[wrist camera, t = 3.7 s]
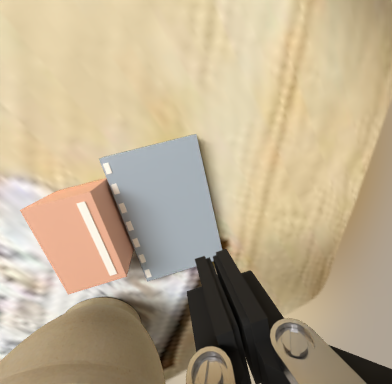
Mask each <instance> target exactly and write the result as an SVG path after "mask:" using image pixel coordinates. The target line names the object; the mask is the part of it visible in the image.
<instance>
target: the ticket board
mask: <svg viewBox="0 0 392 384" xmlns="http://www.w3.org/2000/svg"><path fill="white" fill-rule="evenodd" d="M99 160H100V163H101V165H102V168H103V170H104V173H105V175H106V178H107V180H108V183H109V186H110V188H111V191H112V193H113V196H114V198H115V201H116V203H117V206H118V208H119V211H120V213H121V216H122V219H123V221H124V224H125V226H126V229H127V231H128V234H129V236H130V239H131V241H132V244H133V246H134V249H135V251H136V254H137V257H138V259H139V262H140V264H141V267H142V269H143V272H144V274H145V277H146V279H147V281H151V280H154V279H157V278H160V277H163V276H167V275H170V274H173V273H176V272H179V271H183V270H186V269H189V268H192V267H196V262H195V259H196V258H199V257H202V256H205V257H206V258H209V257H210V259H211V262H212V261H214V260H213V256H215V255H216V252H218V251H221V250H222V247H221V242H220V238H219V233H218V229H217V225H216V220H215V216H214V211H213V207H212V202H211V198H210V193H209V189H208V184H207V180H206V176H205V171H204V167H203V162H202V158H201V153H200V149H199V144H198V140H197V136H196V134H194V135H190V136H186V137H182V138H178V139H174V140H170V141H166V142H162V143H158V144H154V145H150V146H146V147H142V148H138V149H134V150H130V151H126V152H122V153H118V154H114V155H110V156H106V157H102V158H100V159H99Z"/></svg>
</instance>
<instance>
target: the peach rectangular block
mask: <svg viewBox="0 0 392 384" xmlns="http://www.w3.org/2000/svg"><path fill="white" fill-rule="evenodd" d="M20 211H21V213H22V215H23V216H24V218H25V220H26V222H27V223H28V225H29V227H30V229H31V230H32V232H33V234H34V236H35V237H36V239H37V241H38V243H39V244H40V246H41V248H42V249H43V251H44V253H45V255H46V256H47V258H48V260H49V262H50V263H51V265H52V267H53V269H54V270H55V272H56V274H57V276H58V277H59V279H60V281H61V283H62V284H63V286H64V288H65V290H66V291H67V293H68V294H71V293H74V292H78V291H81V290H84V289H88V288H91V287H94V286H97V285H101V284H104V283H107V282H110V281H114V280H117V279H120V278H123V277H127V273H128V269H129V265H130V262H131V258H132V254H133V250H134V246H133V244H132V241H131V239H130V236H129V234H128V231H127V229H126V226H125V224H124V221H123V219H122V216H121V213H120V211H119V208H118V206H117V203H116V201H115V198H114V196H113V193H112V191H111V188H110V186H109V183H108V180H107V178H105V179H101V180H97V181H94V182H90V183H86V184H82V185H78V186H74V187H70V188H67V189H63V190H59V191H56V192H54V193H52V194H50V195H48V196H46V197H44V198H42V199H40V200H39V201H37V202H35V203H33V204H31V205H29V206H27V207H25V208H23V209H21V210H20Z"/></svg>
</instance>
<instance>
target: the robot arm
mask: <svg viewBox="0 0 392 384" xmlns="http://www.w3.org/2000/svg"><path fill="white" fill-rule="evenodd" d="M213 260H214V264H215V268H216V271H215V269H214V266H213V264H212V262H211V259H210V257H209V258H206V257H205V256H202V257H199V258H196V259H195V262H196V266H197V269H198V273H199V277H200V280H201V284H202V287H199V288H196V289H193V290H190V291H187V296H188V303H189V309H190V315H191V321H192V327H193V333H194V339H195V346H196V353H195V354H194V356H193V357H192V358H191V360H190V362H189V365H188V367H187V374H186V384H251V379H250V375H249V371H248V367H247V363H248V365H249V368H250V370H251V373H252V375H253V378H254V381H255V383H256V384H260V383H261V384H392V369H390V368H387V367H385V366H382V365H379V364H377V363H374V362H372V361H369V360H366V359H364V358H361V357H359V356H356V355H353V354H351V353H348V352H346V351H343V350H340V349H338V348H335V347H333V346H330V345H328V344H327V343H326V342H324V341H323V339H321V338H320V336H319V335H318V334H316V332H315V331H314V330H313V329H311V328H310V327H309V326H308V325H306V324H305V323H303V322H301V321H299V320H296V319H291V318H289V319H288V318H287V319H284V317H283V316H282V315H281V313H280V312H279V310H278V309H277V307H276V306H275V304H274V303H273V301H272V300H271V299H270V297H269V296H268V294H267V293H266V291H265V290H264V288H263V287H262V286H261V284H260V283H259V281H258V280H257V278H256V277H255V275H254V274H253V273H252V271H247V272H244V273H240V271H239V269H238V268H237V266H236V264H235V263H234V261H233V259H232V258H231V256H230V254H229V253H228V251H227V249H224V250H221V251H218V252H216V255H215V256H213ZM216 272H217V274H216ZM245 357H246V358H245ZM246 360H247V362H246Z"/></svg>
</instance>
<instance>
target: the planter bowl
mask: <svg viewBox="0 0 392 384" xmlns="http://www.w3.org/2000/svg"><path fill="white" fill-rule="evenodd" d="M0 384H165V379H164V373H163V369H162V365H161V361H160V358H159V355H158V352H157V350H156V347H155V345H154V343H153V341H152V339H151V337H150V335H149V334H148V332H147V331H146V329H145V328H144V327H143V325H142V324H141V320H140V317H139V315H138V313H137V312H136V311H135V310H134V308H132V307H131V306H130V305H128V304H127V303H125V302H123V301H121V300H118V299H113V298H106V297H101V298H93V299H88V300H85V301H82V302H80V303H78V304H76V305H74V306H73V307H71V308H70V309H69V310H68V311H67V312H66V313H65V314H63V315H61V316H59V317H58V318H56V319H54V320H52V321H50V322H49V323H47V324H46V325H44V326H43V327H41V328H40V329H38V330H37V331H35V332H34V333H33V334H31V335H30V336H29V337H27V338H26V339H25V340H24V341H23V342H21V343H20V344H19V345H18V346H17V347H15V348H14V349H13V350H12V351H11V352H10V353H9V354H8V355H7V356H5V357H4V358H3V359H2V360H1V361H0Z"/></svg>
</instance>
